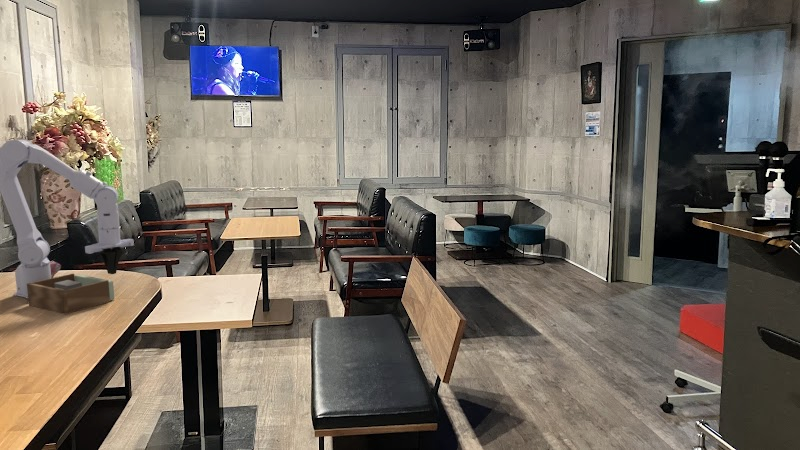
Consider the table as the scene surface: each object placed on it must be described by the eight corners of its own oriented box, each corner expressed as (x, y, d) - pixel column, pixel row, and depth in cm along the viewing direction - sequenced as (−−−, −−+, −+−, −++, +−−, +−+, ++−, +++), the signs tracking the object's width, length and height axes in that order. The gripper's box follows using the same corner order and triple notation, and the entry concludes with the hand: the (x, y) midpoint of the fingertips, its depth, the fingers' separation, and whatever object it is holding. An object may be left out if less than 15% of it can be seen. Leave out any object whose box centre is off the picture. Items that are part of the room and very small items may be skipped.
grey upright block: (68, 304, 169) (67, 285, 168) (55, 300, 172) (53, 283, 171) (83, 300, 172) (81, 282, 171) (69, 297, 175) (68, 279, 174)
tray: (34, 303, 171) (32, 284, 170) (83, 291, 184) (82, 273, 183) (68, 311, 164) (67, 292, 163) (117, 298, 176) (116, 280, 175)
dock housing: (28, 305, 170) (26, 283, 169) (74, 293, 182) (72, 273, 181) (64, 314, 162) (62, 291, 162) (110, 301, 174) (108, 280, 173)
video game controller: (35, 289, 193) (43, 269, 191) (23, 282, 193) (30, 262, 191) (58, 281, 202) (65, 262, 201) (46, 274, 203) (53, 255, 201)
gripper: (94, 232, 175) (98, 280, 178) (139, 225, 188) (142, 270, 190) (79, 230, 179) (82, 277, 181) (124, 223, 191) (126, 267, 193)
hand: (112, 273), depth 186 cm, fingers closed
